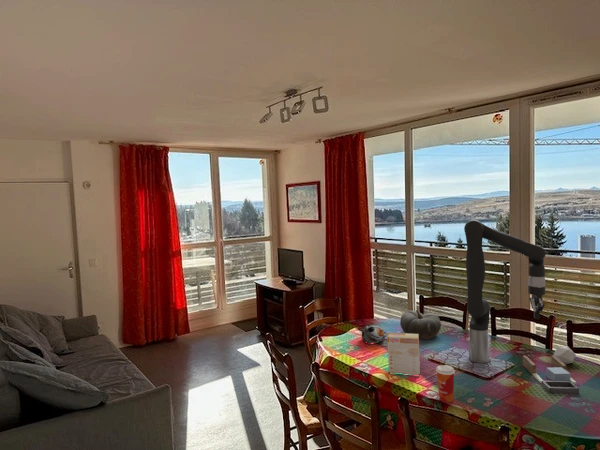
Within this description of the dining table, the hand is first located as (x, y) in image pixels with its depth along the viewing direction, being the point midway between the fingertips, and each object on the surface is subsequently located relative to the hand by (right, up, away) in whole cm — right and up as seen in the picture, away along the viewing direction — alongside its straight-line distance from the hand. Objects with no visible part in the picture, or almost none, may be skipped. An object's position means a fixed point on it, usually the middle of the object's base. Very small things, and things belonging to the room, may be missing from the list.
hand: (536, 318), depth 204 cm
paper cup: (-57, -29, -29) cm, 70 cm away
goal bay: (-1, -25, -15) cm, 29 cm away
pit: (-4, -26, -25) cm, 36 cm away
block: (+1, -25, -15) cm, 30 cm away
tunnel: (+1, -25, -5) cm, 25 cm away
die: (+16, -24, +3) cm, 29 cm away
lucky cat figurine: (-74, -26, +46) cm, 91 cm away
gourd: (-43, -24, +54) cm, 73 cm away
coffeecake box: (-67, -28, 0) cm, 73 cm away
